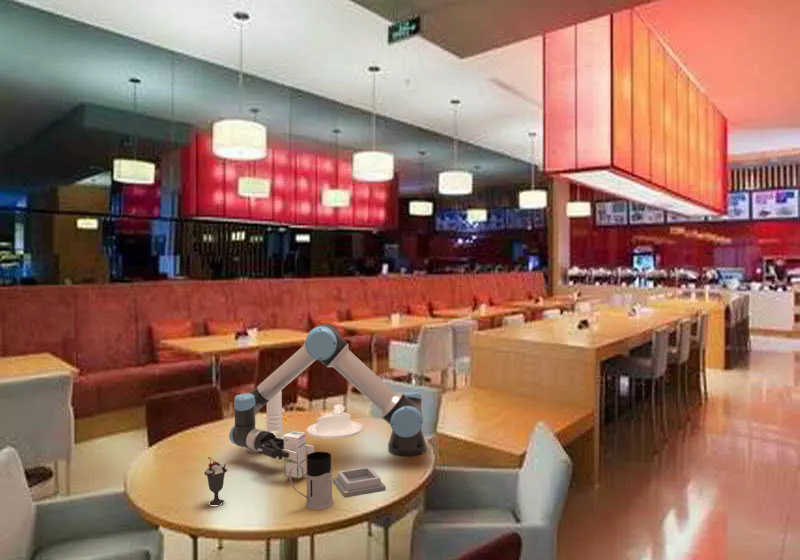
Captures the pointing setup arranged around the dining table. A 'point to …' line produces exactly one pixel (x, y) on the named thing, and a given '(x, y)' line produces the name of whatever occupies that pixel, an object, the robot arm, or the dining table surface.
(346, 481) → the box holder
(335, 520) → the dining table surface
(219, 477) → the sundae
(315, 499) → the glass holder
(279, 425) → the water bottle
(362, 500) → the dining table surface
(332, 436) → the dish
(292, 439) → the syrup box
